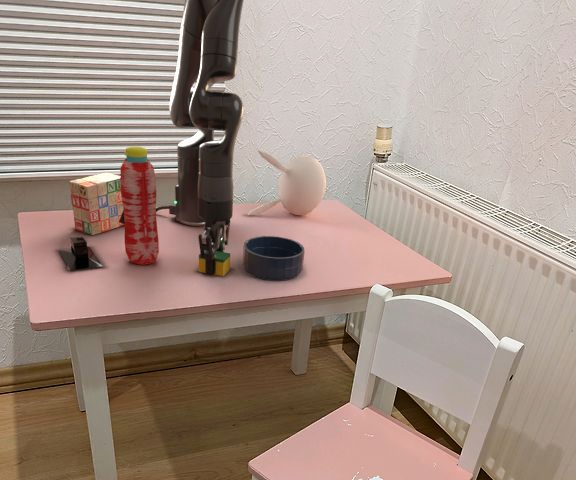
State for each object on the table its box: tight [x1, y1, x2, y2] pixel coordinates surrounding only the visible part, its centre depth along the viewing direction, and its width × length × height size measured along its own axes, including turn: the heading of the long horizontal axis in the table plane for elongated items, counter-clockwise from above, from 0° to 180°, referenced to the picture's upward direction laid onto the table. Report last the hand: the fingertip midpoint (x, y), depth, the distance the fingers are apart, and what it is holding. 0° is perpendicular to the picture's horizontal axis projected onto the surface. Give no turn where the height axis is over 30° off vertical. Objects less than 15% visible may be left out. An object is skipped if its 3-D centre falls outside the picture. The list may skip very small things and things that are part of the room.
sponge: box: [198, 251, 231, 277], centre depth 132 cm, size 6×4×4 cm
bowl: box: [242, 235, 306, 282], centre depth 135 cm, size 14×14×6 cm
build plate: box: [58, 236, 104, 272], centre depth 131 cm, size 12×7×5 cm, turn 29°
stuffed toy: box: [246, 150, 332, 216], centre depth 168 cm, size 19×14×25 cm
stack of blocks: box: [69, 172, 125, 236], centre depth 150 cm, size 21×6×12 cm, turn 148°
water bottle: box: [119, 146, 160, 266], centre depth 128 cm, size 12×8×25 cm, turn 28°
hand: (214, 269), depth 133 cm, fingers closed on sponge, 4 cm apart
